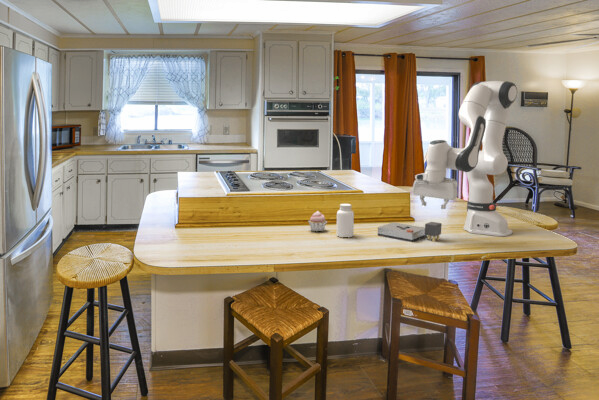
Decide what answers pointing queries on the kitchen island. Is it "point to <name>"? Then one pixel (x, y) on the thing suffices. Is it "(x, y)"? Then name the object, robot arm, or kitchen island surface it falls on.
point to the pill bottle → (345, 221)
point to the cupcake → (317, 222)
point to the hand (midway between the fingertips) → (433, 207)
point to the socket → (402, 232)
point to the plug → (433, 230)
